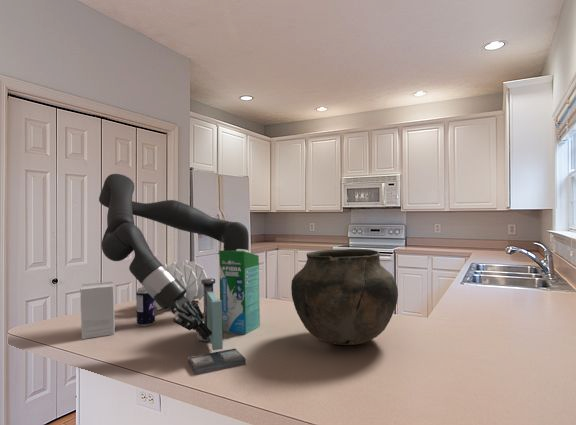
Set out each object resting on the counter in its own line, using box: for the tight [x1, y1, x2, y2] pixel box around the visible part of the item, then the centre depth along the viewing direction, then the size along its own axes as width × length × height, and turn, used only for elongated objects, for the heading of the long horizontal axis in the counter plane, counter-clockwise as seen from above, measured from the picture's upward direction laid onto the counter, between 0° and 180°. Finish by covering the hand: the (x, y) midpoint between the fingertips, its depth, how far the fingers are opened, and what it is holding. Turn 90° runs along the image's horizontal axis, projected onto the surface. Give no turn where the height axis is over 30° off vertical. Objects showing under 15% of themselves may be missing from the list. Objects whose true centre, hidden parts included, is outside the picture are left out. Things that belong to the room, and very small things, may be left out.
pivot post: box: [196, 277, 216, 343], centre depth 106 cm, size 7×7×17 cm
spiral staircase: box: [155, 259, 209, 311], centre depth 147 cm, size 18×18×25 cm
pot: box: [290, 248, 399, 346], centre depth 101 cm, size 29×32×25 cm
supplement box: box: [79, 281, 116, 340], centre depth 113 cm, size 9×9×15 cm
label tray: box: [187, 348, 247, 376], centre depth 88 cm, size 12×8×2 cm, turn 117°
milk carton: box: [218, 249, 261, 335], centre depth 115 cm, size 9×9×25 cm
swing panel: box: [207, 290, 224, 351], centre depth 98 cm, size 14×2×12 cm, turn 20°
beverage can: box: [135, 286, 156, 327], centre depth 121 cm, size 6×6×12 cm
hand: (208, 336), depth 95 cm, fingers closed
